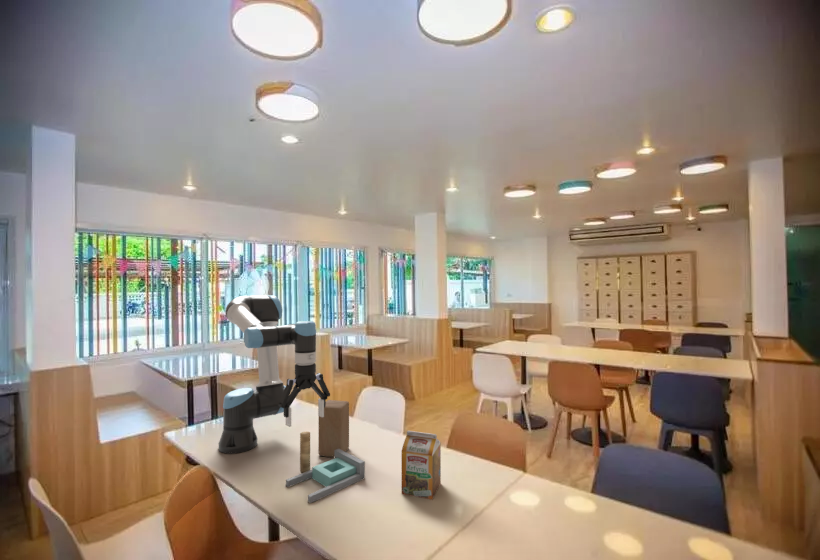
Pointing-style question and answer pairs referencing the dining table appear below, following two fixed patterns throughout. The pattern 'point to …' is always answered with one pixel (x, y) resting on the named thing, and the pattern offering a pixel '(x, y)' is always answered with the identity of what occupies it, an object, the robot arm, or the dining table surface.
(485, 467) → the dining table surface
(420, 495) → the milk carton
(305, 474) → the track
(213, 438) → the dining table surface
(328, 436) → the block
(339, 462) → the teal square ring
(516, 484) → the dining table surface
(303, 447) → the dowel
